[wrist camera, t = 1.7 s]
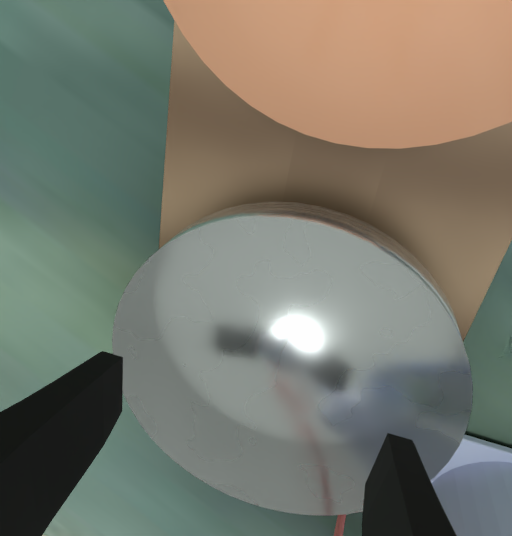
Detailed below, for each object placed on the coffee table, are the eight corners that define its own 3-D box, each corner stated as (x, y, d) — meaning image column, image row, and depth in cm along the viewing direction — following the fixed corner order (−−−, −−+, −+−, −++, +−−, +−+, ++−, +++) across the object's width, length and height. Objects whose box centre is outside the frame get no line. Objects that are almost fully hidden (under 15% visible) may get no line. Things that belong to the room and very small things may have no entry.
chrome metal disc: (394, 453, 19) (399, 555, 15) (161, 379, 21) (110, 454, 17) (500, 220, 14) (549, 281, 10) (181, 146, 16) (114, 175, 12)
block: (396, 426, 22) (399, 475, 19) (174, 358, 24) (148, 395, 21) (749, -380, 10) (882, -539, 7) (248, -396, 12) (211, -530, 9)
